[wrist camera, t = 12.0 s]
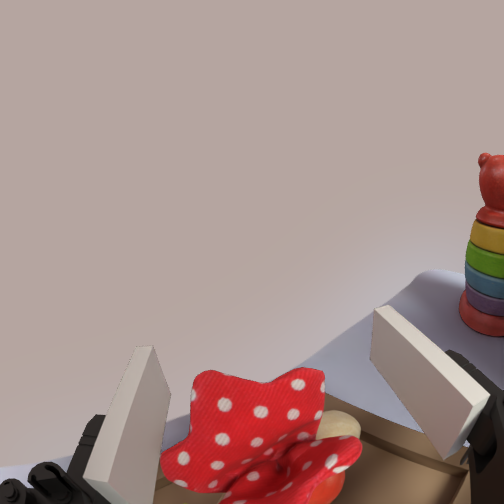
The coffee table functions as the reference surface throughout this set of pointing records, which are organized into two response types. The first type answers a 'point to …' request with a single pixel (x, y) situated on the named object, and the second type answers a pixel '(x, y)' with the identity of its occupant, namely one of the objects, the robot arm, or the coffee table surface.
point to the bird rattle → (264, 441)
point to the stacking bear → (486, 254)
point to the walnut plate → (373, 468)
